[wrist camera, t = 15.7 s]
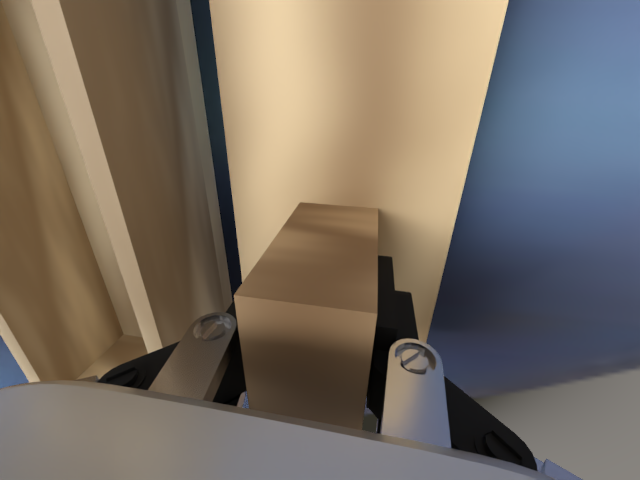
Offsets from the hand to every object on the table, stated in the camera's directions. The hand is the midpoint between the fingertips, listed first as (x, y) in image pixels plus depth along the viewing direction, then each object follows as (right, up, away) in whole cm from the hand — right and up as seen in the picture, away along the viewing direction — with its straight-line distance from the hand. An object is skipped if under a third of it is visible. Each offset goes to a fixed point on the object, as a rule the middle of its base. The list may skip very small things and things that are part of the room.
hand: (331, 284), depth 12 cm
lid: (0, +4, 0) cm, 5 cm away
